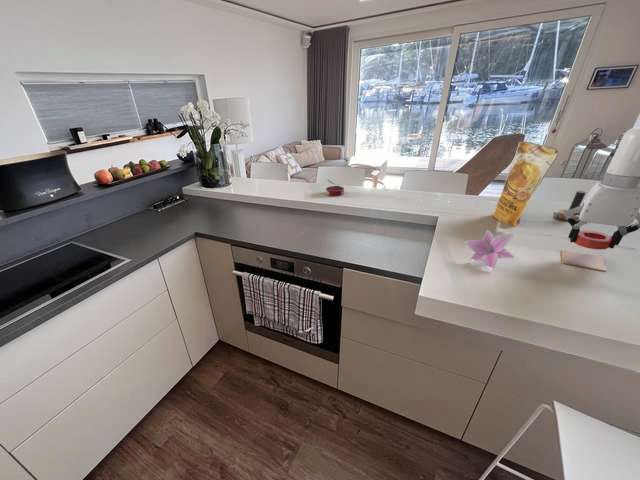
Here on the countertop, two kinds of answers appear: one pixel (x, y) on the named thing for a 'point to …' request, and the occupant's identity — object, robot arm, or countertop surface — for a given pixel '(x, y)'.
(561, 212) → the bottom ring
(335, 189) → the red bowl with spoon
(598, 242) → the top ring
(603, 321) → the countertop surface
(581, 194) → the post stand
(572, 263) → the cork mat
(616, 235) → the robot arm
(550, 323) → the countertop surface
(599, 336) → the countertop surface
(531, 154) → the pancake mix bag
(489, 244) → the lily
